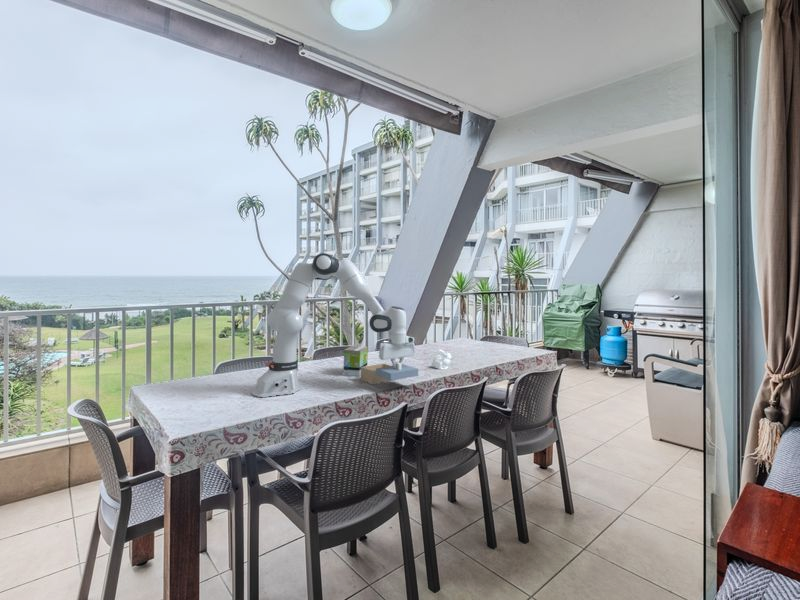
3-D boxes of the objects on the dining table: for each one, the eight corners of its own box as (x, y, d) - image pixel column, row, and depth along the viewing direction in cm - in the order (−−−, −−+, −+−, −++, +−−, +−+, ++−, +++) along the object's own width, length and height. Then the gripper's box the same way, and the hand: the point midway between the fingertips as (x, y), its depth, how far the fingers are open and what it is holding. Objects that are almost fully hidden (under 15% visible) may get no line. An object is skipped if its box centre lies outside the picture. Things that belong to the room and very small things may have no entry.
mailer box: (371, 384, 202) (372, 371, 202) (360, 379, 211) (360, 367, 211) (395, 380, 211) (395, 367, 211) (383, 375, 220) (383, 363, 220)
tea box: (360, 376, 217) (360, 350, 217) (342, 375, 219) (342, 349, 219) (367, 370, 232) (367, 345, 231) (351, 369, 234) (351, 345, 233)
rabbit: (452, 368, 241) (452, 348, 240) (447, 371, 232) (448, 351, 232) (433, 366, 246) (433, 347, 245) (428, 369, 237) (428, 349, 236)
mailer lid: (391, 380, 187) (391, 367, 187) (376, 375, 197) (376, 362, 197) (418, 375, 197) (418, 362, 197) (402, 370, 208) (402, 358, 207)
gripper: (383, 342, 188) (383, 370, 188) (417, 338, 200) (416, 365, 201) (376, 340, 193) (376, 368, 193) (409, 336, 205) (409, 362, 206)
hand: (397, 366), depth 197 cm, fingers closed on mailer lid
